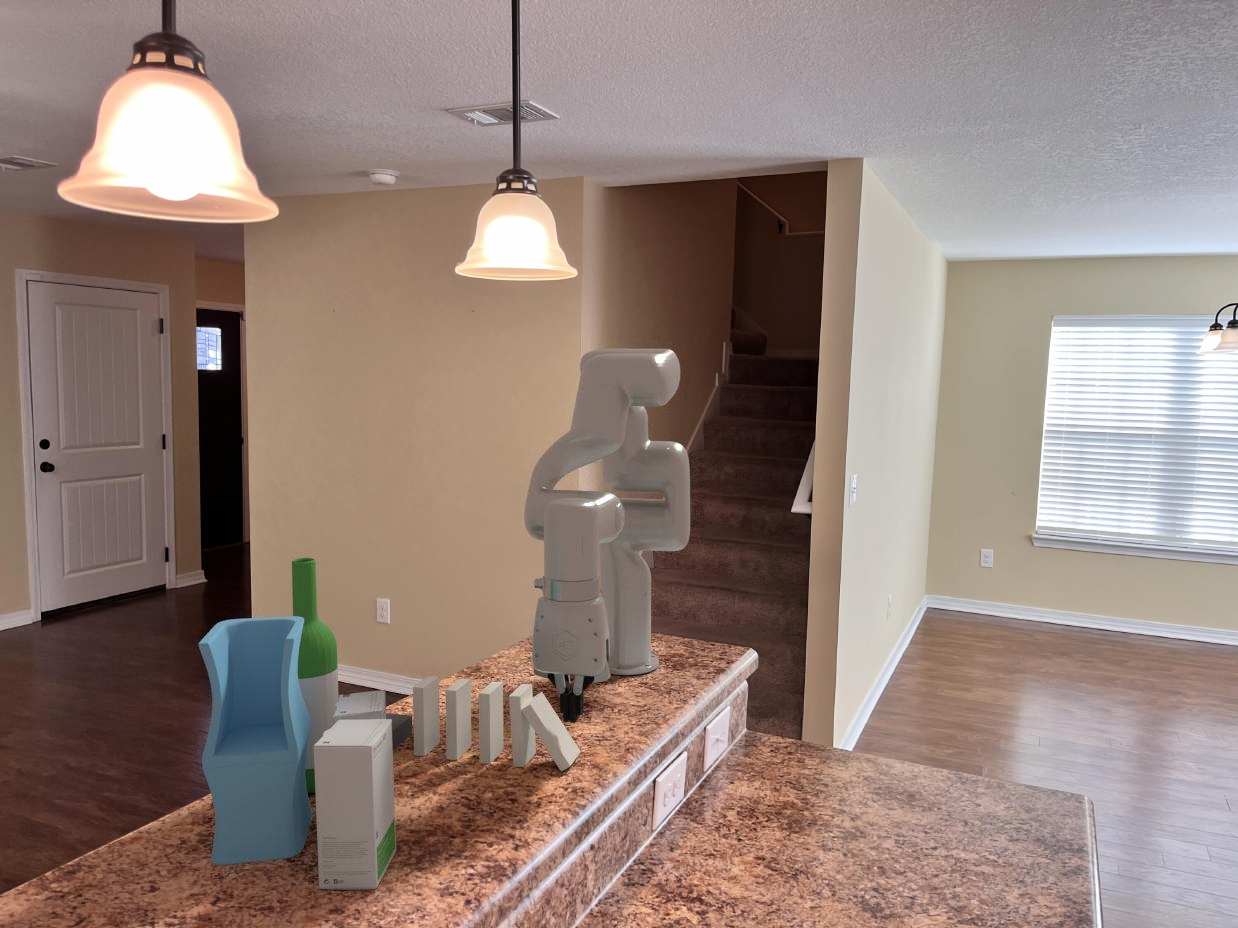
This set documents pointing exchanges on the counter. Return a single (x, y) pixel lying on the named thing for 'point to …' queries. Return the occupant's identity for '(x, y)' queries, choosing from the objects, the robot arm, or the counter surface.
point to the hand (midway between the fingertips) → (571, 718)
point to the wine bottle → (314, 660)
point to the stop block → (400, 728)
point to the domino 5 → (551, 731)
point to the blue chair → (256, 740)
